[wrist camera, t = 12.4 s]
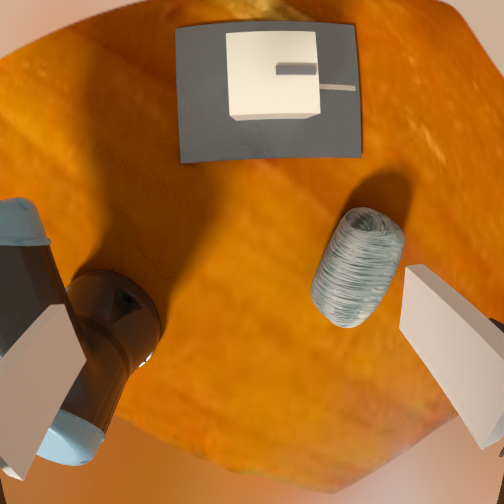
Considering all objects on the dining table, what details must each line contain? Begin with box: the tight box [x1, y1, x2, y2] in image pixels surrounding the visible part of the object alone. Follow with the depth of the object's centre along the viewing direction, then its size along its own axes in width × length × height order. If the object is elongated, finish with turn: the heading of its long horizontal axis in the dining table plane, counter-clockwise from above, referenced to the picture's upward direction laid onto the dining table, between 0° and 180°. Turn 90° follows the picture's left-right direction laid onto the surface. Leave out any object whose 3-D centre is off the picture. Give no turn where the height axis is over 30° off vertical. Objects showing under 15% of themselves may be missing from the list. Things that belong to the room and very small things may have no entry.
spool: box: [311, 207, 405, 328], centre depth 35 cm, size 14×10×10 cm
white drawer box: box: [226, 31, 320, 121], centre depth 27 cm, size 7×7×9 cm
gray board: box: [175, 21, 361, 164], centre depth 30 cm, size 20×16×5 cm
